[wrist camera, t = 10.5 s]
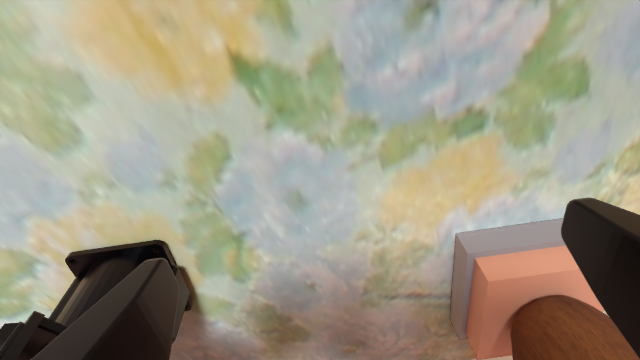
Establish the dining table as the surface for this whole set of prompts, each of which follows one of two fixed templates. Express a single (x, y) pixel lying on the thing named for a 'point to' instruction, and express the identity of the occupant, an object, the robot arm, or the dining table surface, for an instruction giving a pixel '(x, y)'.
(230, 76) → the dining table surface
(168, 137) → the dining table surface
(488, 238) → the brick plinth
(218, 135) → the dining table surface
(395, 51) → the dining table surface
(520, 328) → the wooden figurine
